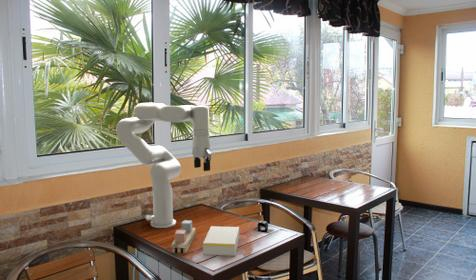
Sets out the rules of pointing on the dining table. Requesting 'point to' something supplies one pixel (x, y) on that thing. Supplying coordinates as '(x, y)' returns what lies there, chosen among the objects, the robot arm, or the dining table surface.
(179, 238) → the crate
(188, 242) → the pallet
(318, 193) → the dining table surface
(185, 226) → the block
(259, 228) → the black piece
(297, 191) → the dining table surface
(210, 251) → the dock
